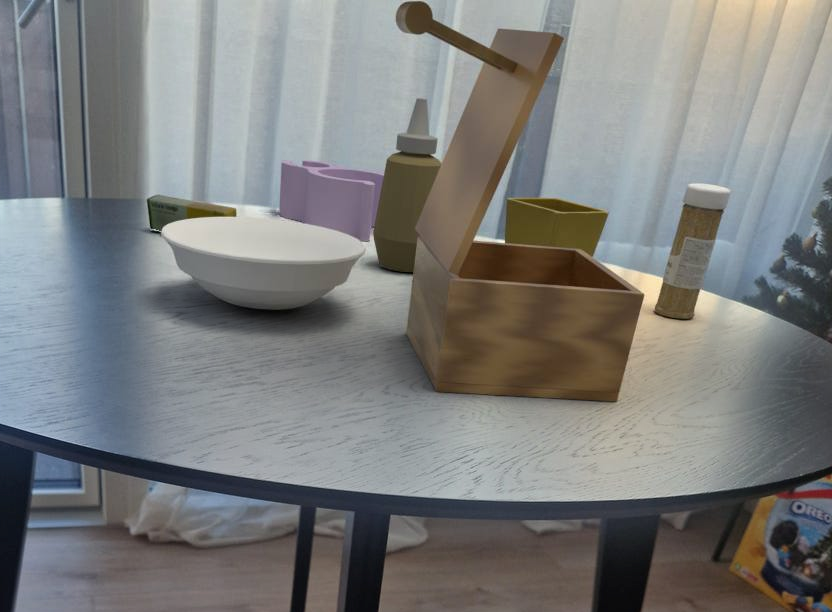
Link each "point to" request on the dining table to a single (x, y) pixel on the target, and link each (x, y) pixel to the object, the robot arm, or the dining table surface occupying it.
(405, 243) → the squeeze bottle
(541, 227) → the flower pot
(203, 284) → the bowl
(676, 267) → the sprinkles bottle
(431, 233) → the chest lid
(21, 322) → the dining table surface
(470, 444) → the dining table surface
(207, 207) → the medication box
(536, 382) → the chest
